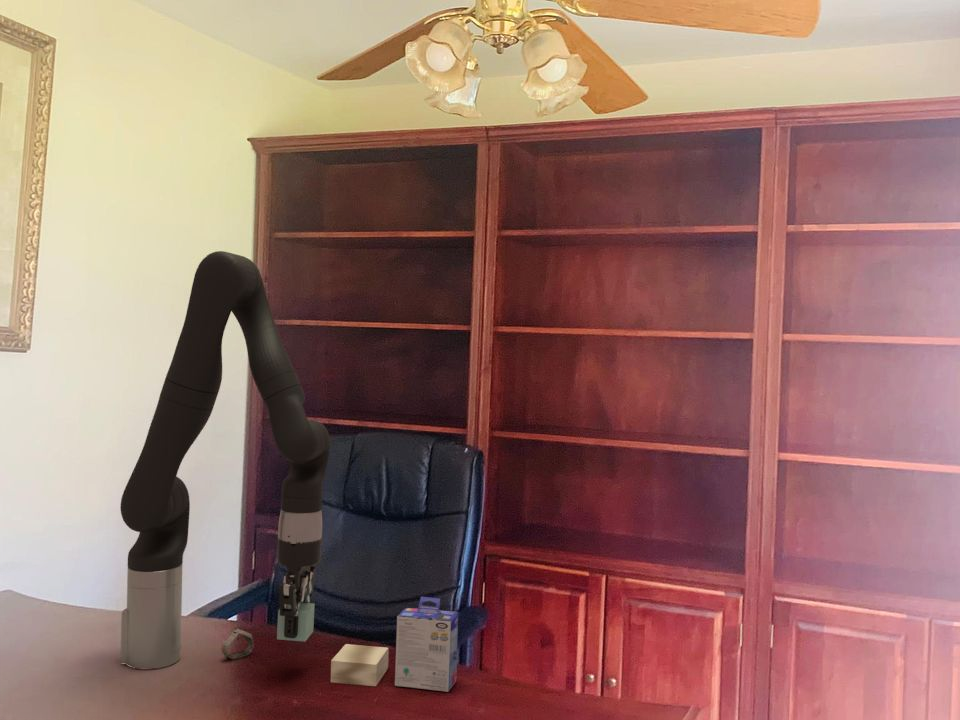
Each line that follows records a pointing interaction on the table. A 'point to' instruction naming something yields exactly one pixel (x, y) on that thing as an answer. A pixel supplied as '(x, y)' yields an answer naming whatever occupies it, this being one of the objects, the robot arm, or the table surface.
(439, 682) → the ink cartridge box
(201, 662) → the table surface
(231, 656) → the wristwatch
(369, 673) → the ash block
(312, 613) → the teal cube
